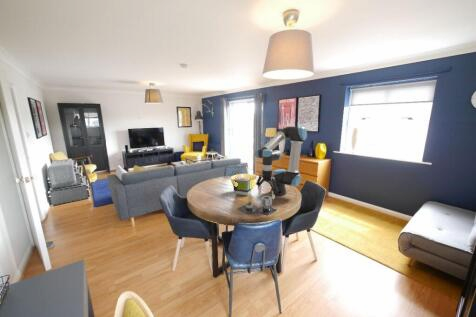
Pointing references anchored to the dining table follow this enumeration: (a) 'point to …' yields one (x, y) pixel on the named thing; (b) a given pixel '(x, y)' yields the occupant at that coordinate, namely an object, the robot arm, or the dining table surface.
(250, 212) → the hub
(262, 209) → the stand
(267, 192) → the dining table surface
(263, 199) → the ring
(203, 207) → the dining table surface
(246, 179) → the tea box
